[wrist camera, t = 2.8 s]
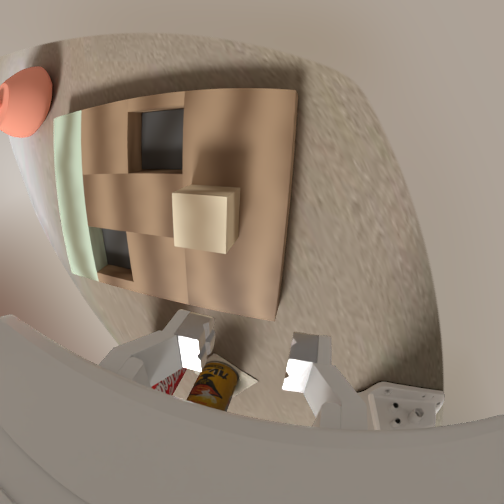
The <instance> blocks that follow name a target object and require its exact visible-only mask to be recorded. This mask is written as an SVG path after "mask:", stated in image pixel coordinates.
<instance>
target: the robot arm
mask: <svg viewBox="0 0 504 504" xmlns="http://www.w3.org/2000/svg"><path fill="white" fill-rule="evenodd" d="M214 325H215V319H214V317H212V316H207V315H203V314H199V313H195V312H190V311H187V310H183V309H180V310H178V311H177V312H176V314H175V315H174V316H173V318H172V319H171V320H170V321H169V323H168V324H167V325H166V327H165V328H164V329H163V331H160V330H159V331H156V332H154V333H151V334H148V335H146V336H143V337H141V338H138V339H136V340H133V341H130V342H128V343H125V344H123V345H120V346H117V347H115V348H113V349H112V350H111V351H110V352H109V353H108V355H107V356H106V357H105V358H104V359H103V360H102V362H101V363H100V364H99V365H97V364H95V363H93V362H91V361H89V360H86V359H84V358H83V357H81V356H79V355H77V354H75V353H74V352H72V351H70V350H68V349H66V348H65V347H63V346H61V345H59V344H58V343H56V342H54V341H53V340H51V339H49V338H47V337H46V336H44V335H43V334H41V333H40V332H38V331H37V330H35V329H34V328H32V327H31V326H29V325H28V324H26V323H25V322H23V321H22V320H21V319H19V318H18V317H16V316H14V315H5V316H2V317H0V504H504V415H497V416H494V417H490V418H486V419H481V420H477V421H472V422H466V423H460V424H454V425H447V426H439V427H435V422H436V413H437V412H438V411H439V409H440V408H441V406H442V404H443V402H444V392H443V391H439V390H432V389H425V388H418V387H412V386H406V385H400V384H394V383H389V382H379V383H377V384H375V385H373V386H372V387H370V388H368V389H367V390H365V391H362V392H359V393H357V392H356V391H355V390H354V389H353V387H352V386H351V385H350V384H349V382H348V381H347V380H346V379H345V377H344V376H343V375H342V374H341V372H340V371H339V370H338V369H337V367H336V366H335V365H331V356H332V347H331V336H325V335H314V334H307V333H299V332H294V333H293V338H292V344H291V348H290V354H289V359H288V364H287V370H286V374H285V380H284V385H283V389H284V390H290V391H296V392H302V393H303V394H304V396H305V398H306V400H307V402H308V404H309V406H310V408H311V409H312V411H313V413H314V415H315V417H316V419H315V421H314V423H313V425H312V427H310V426H302V425H294V424H287V423H280V422H274V421H269V420H263V419H258V418H253V417H248V416H243V415H239V414H234V413H230V412H226V411H222V410H218V409H214V408H211V407H207V406H204V405H200V404H197V403H193V402H190V401H187V400H184V399H181V398H178V397H175V396H172V395H169V394H166V393H163V392H160V391H158V390H155V389H152V388H151V387H152V386H154V385H155V384H157V383H159V382H160V381H162V380H164V379H165V378H167V377H168V376H170V375H172V374H173V373H175V372H176V371H178V370H180V369H181V368H182V367H185V368H189V369H193V370H197V371H202V369H203V368H204V366H205V364H206V362H207V355H209V354H211V352H212V350H213V347H214V343H215V332H214V331H213V327H214Z"/></svg>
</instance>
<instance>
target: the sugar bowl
mask: <svg viewBox="0 0 504 504" xmlns="http://www.w3.org/2000/svg"><path fill="white" fill-rule="evenodd" d="M52 87H53V84H52V82H51V79H50V77H49V75H48V73H47V71H46V70H45V69H44V68H42V67H30V68H26V69H24V70H21V71H19V72H18V73H16V74H14V75H13V76H11V77H10V78H9V79H7V80H6V81H5V82H4V83H3V84H2V85H1V86H0V130H1V131H3V132H4V133H6V134H8V135H10V136H13V137H22V138H23V137H29V136H31V135H32V134H34V133H35V132H36V131H37V130H38V128H39V127H40V126H41V124H42V123H43V122H44V120H45V119H46V116H47V114H48V111H49V108H50V104H51V99H52Z"/></svg>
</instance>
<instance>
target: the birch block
mask: <svg viewBox="0 0 504 504" xmlns="http://www.w3.org/2000/svg"><path fill="white" fill-rule="evenodd" d="M239 208H240V188H235V187H222V186H208V185H192V184H191V185H189V186H187V187H184V188H182V189H180V190H177V191H175V192H173V193H172V209H173V230H174V246H176V247H182V248H189V249H196V250H202V251H209V252H216V253H222V254H226V253H227V252H228V251H229V249H230V248H231V247H232V245H233V244H234V243H235V242H236V240H237V239H238V235H239Z"/></svg>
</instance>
